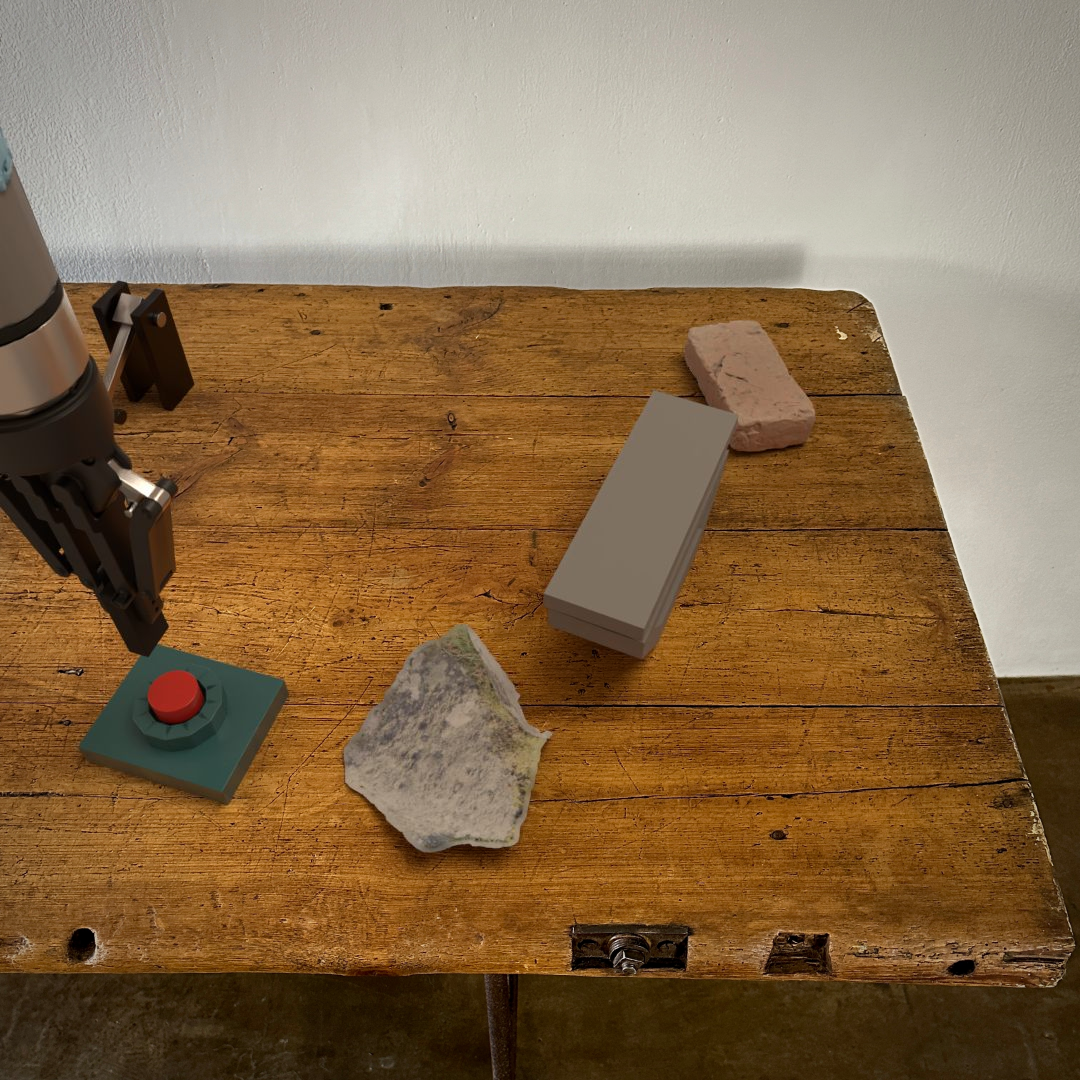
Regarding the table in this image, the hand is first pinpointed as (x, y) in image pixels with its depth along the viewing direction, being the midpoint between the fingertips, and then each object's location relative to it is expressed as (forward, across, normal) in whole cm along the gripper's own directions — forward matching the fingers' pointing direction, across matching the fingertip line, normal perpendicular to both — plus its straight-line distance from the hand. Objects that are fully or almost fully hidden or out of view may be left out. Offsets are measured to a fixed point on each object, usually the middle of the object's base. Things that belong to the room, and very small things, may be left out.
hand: (149, 639), depth 68 cm
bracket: (+11, +22, -33) cm, 41 cm away
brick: (+12, -35, -52) cm, 64 cm away
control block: (+11, 0, 0) cm, 11 cm away
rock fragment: (+12, -20, -4) cm, 24 cm away
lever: (+4, +22, -29) cm, 37 cm away
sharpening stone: (+12, -30, -25) cm, 41 cm away
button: (+8, 0, 0) cm, 8 cm away
